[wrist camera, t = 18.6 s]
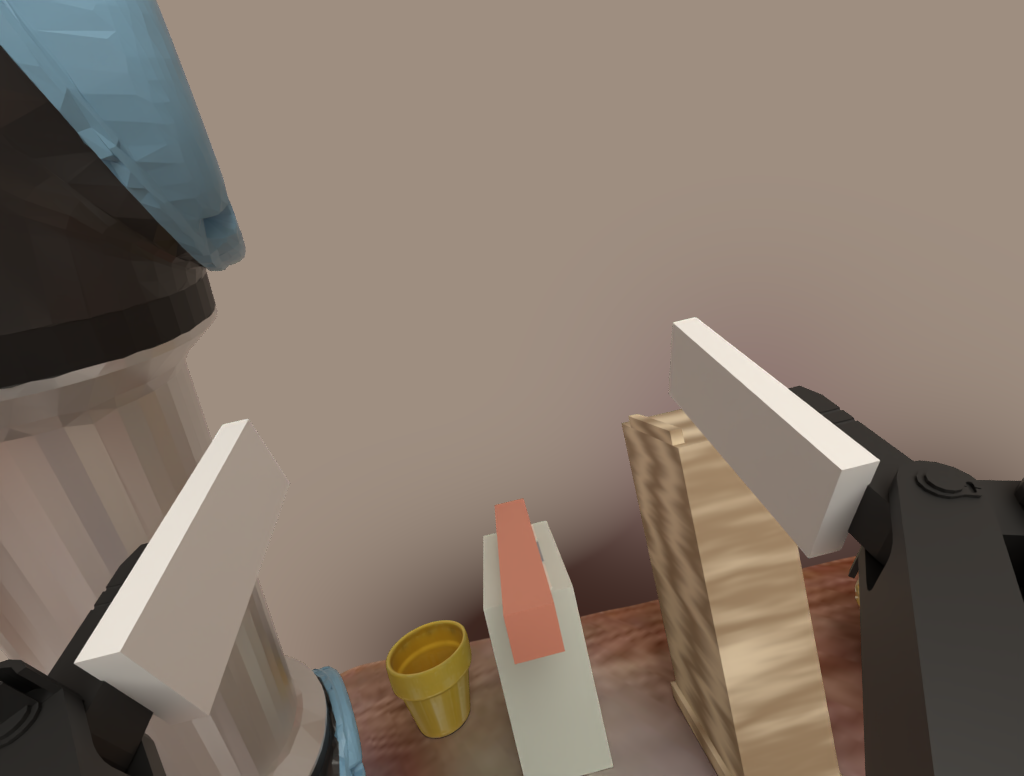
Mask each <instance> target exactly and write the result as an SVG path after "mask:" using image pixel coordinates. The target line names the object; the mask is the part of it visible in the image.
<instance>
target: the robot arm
mask: <svg viewBox="0 0 1024 776" xmlns="http://www.w3.org/2000/svg"><path fill="white" fill-rule="evenodd" d="M244 256H245V244H244V241H243V237H242V233H241V231H240V229H239V226H238V223H237V220H236V217H235V214H234V211H233V209H232V206H231V204H230V201H229V199H228V196H227V193H226V188H225V184H224V180H223V177H222V174H221V171H220V168H219V165H218V162H217V160H216V157H215V154H214V151H213V149H212V146H211V143H210V141H209V138H208V135H207V132H206V129H205V127H204V124H203V121H202V119H201V116H200V113H199V111H198V108H197V106H196V103H195V100H194V97H193V94H192V92H191V89H190V87H189V84H188V82H187V79H186V76H185V73H184V71H183V68H182V65H181V63H180V60H179V58H178V55H177V52H176V50H175V47H174V44H173V42H172V39H171V37H170V34H169V32H168V29H167V27H166V24H165V22H164V19H163V17H162V14H161V11H160V9H159V6H158V4H157V1H156V0H0V649H1V650H2V651H3V653H4V654H5V655H6V656H7V657H8V659H9V660H6V661H3V662H0V776H366V773H365V769H364V765H363V763H362V750H361V743H360V738H359V734H358V729H357V725H356V721H355V717H354V713H353V709H352V706H351V702H350V699H349V696H348V693H347V690H346V687H345V685H344V682H343V680H342V678H341V676H340V674H339V673H338V671H337V670H336V669H333V668H332V667H329V666H328V667H323V668H320V669H314V670H311V669H310V668H309V667H308V666H307V665H306V664H304V663H303V662H301V661H299V660H297V659H295V658H292V657H289V656H286V655H284V653H283V651H282V647H281V645H280V641H279V638H278V635H277V633H276V629H275V627H274V623H273V621H272V618H271V615H270V612H269V609H268V606H267V603H266V600H265V597H264V594H263V591H262V588H261V585H260V582H259V579H258V573H259V571H260V568H261V565H262V562H263V559H264V556H265V553H266V551H267V548H268V545H269V542H270V539H271V536H272V533H273V531H274V528H275V525H276V522H277V519H278V516H279V513H280V510H281V508H282V504H283V502H284V499H285V496H286V493H287V490H288V487H289V485H290V482H289V481H288V479H287V478H286V476H285V475H284V473H283V472H282V470H281V468H280V467H279V465H278V464H277V462H276V460H275V459H274V457H273V456H272V454H271V453H270V451H269V449H268V448H267V447H266V445H265V443H264V442H263V440H262V439H261V437H260V435H259V434H258V432H257V431H256V429H255V428H254V426H253V424H252V423H251V421H250V420H249V419H245V420H241V421H236V422H232V423H227V424H224V425H222V426H221V428H220V430H219V431H218V433H217V434H216V436H215V438H214V439H213V441H212V438H211V435H210V432H209V429H208V426H207V423H206V420H205V417H204V414H203V411H202V408H201V405H200V402H199V399H198V396H197V393H196V390H195V387H194V384H193V381H192V378H191V375H190V372H189V369H188V366H187V363H186V357H187V354H188V352H189V350H190V349H191V348H192V347H193V346H194V344H195V343H196V342H197V341H198V340H199V338H200V337H201V336H202V335H203V334H204V332H206V330H207V329H208V328H209V327H210V326H211V324H212V323H213V322H214V320H215V319H216V315H217V309H216V304H215V301H214V297H213V294H212V290H211V287H210V283H209V279H208V276H207V272H206V268H207V269H208V270H210V271H222V270H225V269H226V268H227V267H228V266H229V265H232V264H235V263H237V262H239V261H241V260H242V259H243V258H244ZM669 395H670V396H671V397H672V398H673V399H674V401H675V402H676V403H677V404H678V405H679V406H680V408H681V409H682V410H683V411H684V412H685V414H686V415H687V416H688V417H689V418H690V420H691V421H692V422H693V423H694V424H695V425H696V427H697V428H698V429H699V430H700V431H701V432H702V434H703V435H704V436H705V437H706V438H707V440H708V441H709V442H710V443H711V444H712V445H713V447H714V448H715V449H716V450H717V451H718V452H719V454H720V455H721V456H722V457H723V458H724V459H725V461H726V462H727V463H728V464H729V465H730V467H731V468H732V469H733V470H734V471H735V472H736V474H737V475H738V476H739V477H740V478H741V479H742V481H743V482H744V483H745V484H746V485H747V487H748V488H749V489H750V490H751V491H752V492H753V494H754V495H755V496H756V497H757V498H758V499H759V501H760V502H761V503H762V504H763V505H764V507H765V508H766V509H767V510H768V511H769V512H770V514H771V515H772V516H773V517H774V518H775V519H776V521H777V522H778V523H779V524H780V525H781V527H782V528H783V529H784V530H785V531H786V532H787V534H788V535H789V536H790V537H791V538H792V539H793V541H794V542H795V543H796V544H797V545H798V547H799V548H800V549H801V550H802V551H803V552H804V554H805V555H806V556H807V557H808V558H812V557H816V556H820V555H823V554H827V553H831V552H835V551H839V550H841V549H842V546H843V544H844V542H845V540H846V537H847V535H848V533H850V534H851V535H852V536H853V537H854V538H855V539H856V540H857V541H858V542H859V543H860V544H861V545H862V546H861V548H860V550H859V552H858V554H857V556H856V558H855V560H854V562H853V564H852V567H851V569H850V572H849V575H848V576H849V577H852V578H855V576H856V574H857V572H858V570H859V597H860V626H861V655H862V684H863V713H864V742H865V771H866V776H1024V478H1023V479H1022V481H994V480H992V481H991V480H976V479H974V478H973V477H972V476H970V475H969V474H967V473H965V472H963V471H960V470H958V469H956V468H954V467H951V466H947V465H944V464H940V463H937V462H929V461H912V460H911V459H910V458H908V457H907V456H906V455H904V454H903V453H901V452H900V451H899V450H897V449H896V448H895V447H893V446H892V445H890V444H889V443H888V442H886V441H885V440H883V439H882V438H881V437H879V436H878V435H877V434H875V433H874V432H873V431H871V430H870V429H868V428H867V427H866V426H864V425H863V424H862V423H860V422H859V421H855V420H854V418H853V417H852V416H851V415H849V414H848V413H846V412H845V411H844V410H840V408H839V407H838V406H837V405H835V404H834V403H833V402H831V401H830V400H828V399H827V398H826V397H824V396H823V395H821V394H819V393H816V392H814V391H811V390H809V389H806V388H804V387H802V386H797V387H793V388H789V389H788V388H786V387H785V386H784V385H782V384H781V383H780V382H779V381H777V380H776V379H775V378H773V377H772V376H771V375H770V374H768V373H767V372H766V371H765V370H763V369H762V368H761V367H759V366H758V365H757V364H756V363H754V362H753V361H751V360H750V359H749V358H748V357H746V356H745V355H744V354H742V353H741V352H740V351H739V350H737V349H736V348H735V347H734V346H732V345H731V344H730V343H728V342H727V341H726V340H725V339H723V338H722V337H721V336H720V335H718V334H717V333H716V332H714V331H713V330H712V329H711V328H709V327H708V326H707V325H705V324H704V323H703V322H702V321H700V320H699V319H698V318H696V317H695V318H690V319H686V320H682V321H677V322H673V326H672V343H671V361H670V379H669Z"/></svg>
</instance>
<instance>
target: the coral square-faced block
mask: <svg viewBox="0 0 1024 776" xmlns="http://www.w3.org/2000/svg"><path fill="white" fill-rule="evenodd" d="M495 515H496V527H497V528H496V529H497V542H498V555H499V567H500V580H501V593H502V606H503V617H504V621H505V625H506V629H507V634H508V638H509V642H510V646H511V650H512V655H513V659H514V663H515V664H518V663H522V662H526V661H530V660H534V659H537V658H541V657H545V656H549V655H553V654H556V653H560V652H564V651H565V649H564V644H563V640H562V636H561V631H560V627H559V622H558V618H557V614H556V609H555V605H554V601H553V598H552V594H551V591H550V587H549V584H548V581H547V577H546V574H545V570H544V567H543V564H542V560H541V557H540V553H539V550H538V547H537V543H536V540H535V536H534V533H533V530H532V526H531V523H530V519H529V516H528V513H527V509H526V506H525V502H524V499H518V500H514V501H510V502H506V503H502V504H498V505H495Z"/></svg>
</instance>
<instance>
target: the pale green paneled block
mask: <svg viewBox="0 0 1024 776" xmlns="http://www.w3.org/2000/svg"><path fill="white" fill-rule="evenodd" d="M531 526H532V530H533V533H534V536H535V540H536V543H537V547H538V550H539V553H540V557H541V560H542V564H543V567H544V570H545V574H546V577H547V581H548V584H549V587H550V591H551V594H552V598H553V601H554V605H555V609H556V614H557V618H558V622H559V627H560V631H561V636H562V640H563V644H564V649H565V651H564V652H560V653H556V654H553V655H549V656H545V657H541V658H537V659H534V660H530V661H526V662H522V663H518V664H515V663H514V659H513V655H512V650H511V646H510V642H509V638H508V634H507V629H506V625H505V621H504V617H503V606H502V593H501V580H500V567H499V555H498V542H497V533H494V534H490V535H486V536H484V537H483V539H484V540H483V541H484V542H483V544H484V546H483V548H484V549H483V551H484V552H483V582H484V583H483V594H484V595H483V602H484V603H483V610H484V614H485V618H486V622H487V626H488V630H489V634H490V639H491V643H492V647H493V651H494V655H495V659H496V663H497V668H498V672H499V676H500V680H501V684H502V688H503V692H504V697H505V701H506V705H507V709H508V713H509V717H510V721H511V726H512V730H513V734H514V738H515V742H516V746H517V750H518V755H519V759H520V763H521V767H522V771H523V775H524V776H582V775H586V774H590V773H593V772H597V771H600V770H604V769H607V768H611V767H613V763H612V759H611V754H610V750H609V745H608V741H607V736H606V732H605V728H604V723H603V719H602V714H601V710H600V705H599V701H598V696H597V692H596V688H595V683H594V679H593V674H592V670H591V665H590V661H589V656H588V652H587V648H586V643H585V639H584V634H583V630H582V625H581V621H580V616H579V612H578V608H577V603H576V599H575V594H574V590H573V586H572V583H571V581H570V578H569V576H568V574H567V571H566V569H565V566H564V563H563V561H562V558H561V556H560V553H559V551H558V548H557V546H556V543H555V541H554V538H553V536H552V533H551V531H550V528H549V526H548V523H547V521H542V522H538V523H534V524H531Z"/></svg>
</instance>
